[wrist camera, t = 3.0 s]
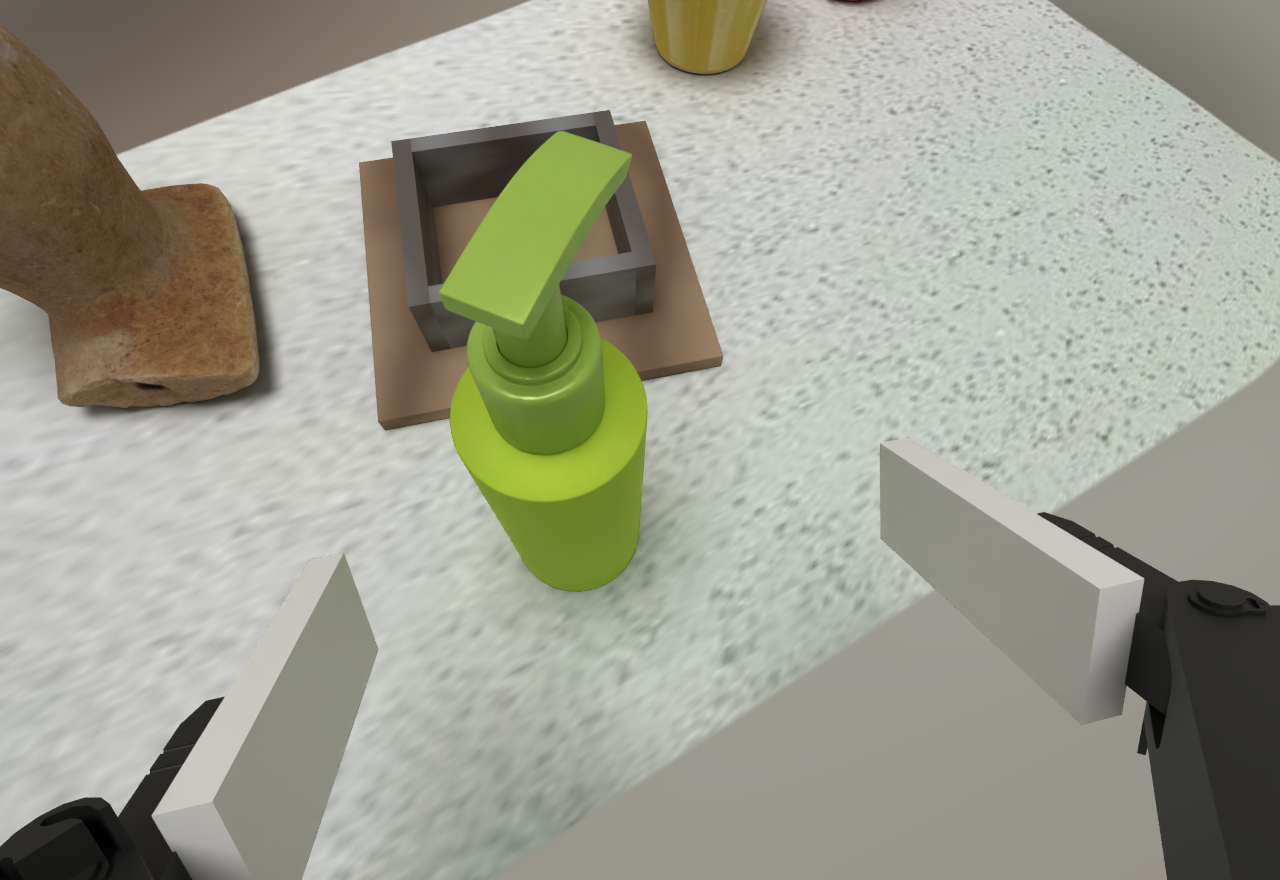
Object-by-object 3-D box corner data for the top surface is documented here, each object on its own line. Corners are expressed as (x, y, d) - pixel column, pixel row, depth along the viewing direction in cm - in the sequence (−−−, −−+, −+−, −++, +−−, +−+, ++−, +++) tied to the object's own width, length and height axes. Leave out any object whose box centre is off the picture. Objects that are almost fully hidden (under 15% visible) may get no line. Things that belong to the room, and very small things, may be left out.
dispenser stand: (385, 430, 33) (346, 382, 28) (365, 175, 40) (331, 104, 35) (720, 365, 35) (734, 311, 30) (645, 133, 42) (647, 61, 37)
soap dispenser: (665, 482, 32) (718, 162, 14) (608, 612, 29) (581, 426, 11) (560, 439, 33) (479, 84, 15) (495, 561, 30) (299, 312, 12)
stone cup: (39, 239, 38) (-298, -39, 24) (249, 190, 39) (49, -94, 26) (35, 466, 32) (-410, 270, 18) (281, 396, 34) (45, 170, 20)
